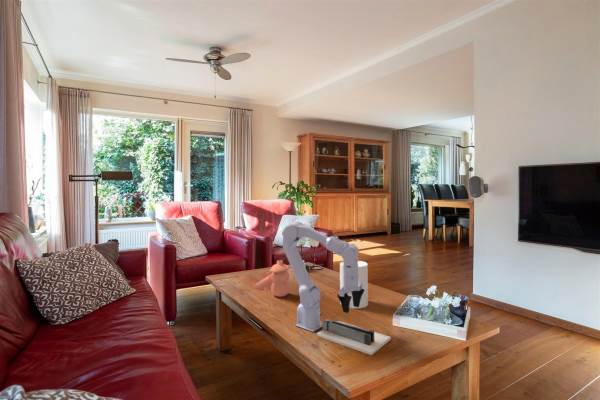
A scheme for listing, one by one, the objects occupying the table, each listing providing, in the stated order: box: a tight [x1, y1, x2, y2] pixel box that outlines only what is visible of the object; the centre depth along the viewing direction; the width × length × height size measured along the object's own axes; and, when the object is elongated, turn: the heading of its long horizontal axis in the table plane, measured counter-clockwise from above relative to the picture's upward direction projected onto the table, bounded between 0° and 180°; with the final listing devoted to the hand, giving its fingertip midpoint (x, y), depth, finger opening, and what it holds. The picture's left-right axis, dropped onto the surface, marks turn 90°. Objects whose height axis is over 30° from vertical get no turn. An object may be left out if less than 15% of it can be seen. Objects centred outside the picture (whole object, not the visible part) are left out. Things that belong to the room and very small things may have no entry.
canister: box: [339, 260, 369, 309], centre depth 165 cm, size 14×14×20 cm
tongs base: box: [322, 318, 371, 346], centre depth 128 cm, size 21×3×4 cm, turn 50°
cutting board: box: [316, 320, 392, 356], centre depth 128 cm, size 24×15×1 cm, turn 50°
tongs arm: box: [331, 320, 375, 342], centre depth 128 cm, size 18×1×4 cm, turn 52°
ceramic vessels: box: [253, 259, 291, 298], centre depth 191 cm, size 35×21×19 cm, turn 19°
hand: (351, 309), depth 132 cm, fingers open, 7 cm apart
